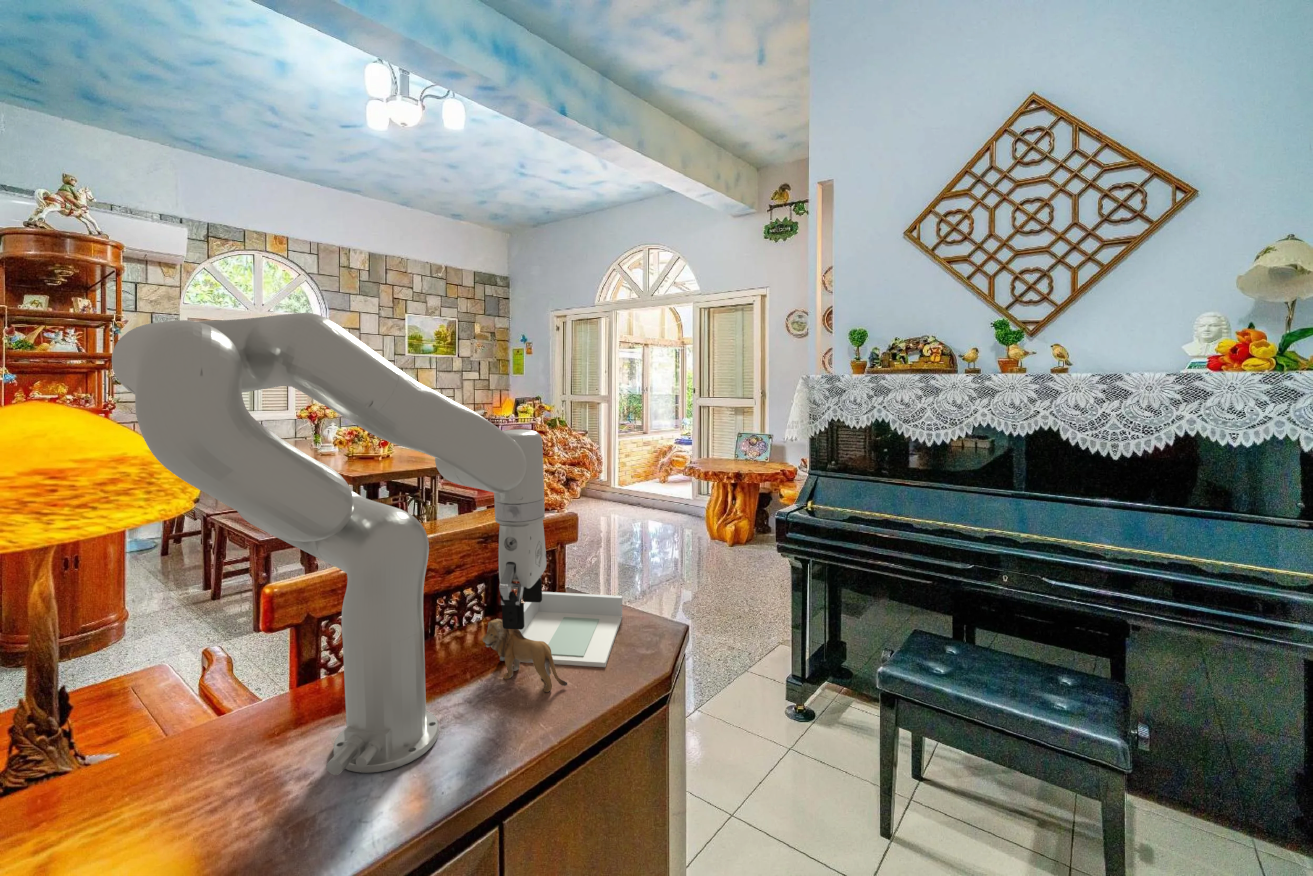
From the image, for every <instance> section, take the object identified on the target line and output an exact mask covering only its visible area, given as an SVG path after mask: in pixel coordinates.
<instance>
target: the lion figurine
mask: <svg viewBox="0 0 1313 876" xmlns="http://www.w3.org/2000/svg"><path fill="white" fill-rule="evenodd" d="M487 623H488V625H487V631H486V634H485V635H484V636H483V637H482V639H481V640H482V641H483V643H485V647H486V648H490V647H491V649H492V650H494V651H496V652H497V655H498V656H499V657H500V656H501V657H505V661H504V663H505V666H506V667H505V668H506V669H507V672H506V673H504V674H503V678H504V680H509V679H511V678H512V677H513V676H514V672H517V671H519V670H520V667H521V665H520V664H521V662H520V661H523V662H522V663H530V662H533V666H534V669H535V671H536V672H537V674H538V675H539V677H540V678H541V679H542V680H543V681H544V683H545V685H544V686H543V692H544V693H549V692H550V691H552V689H553V684H552V683H553V682H552V679H551V674H553V676H554V678H555V681H557V682H558V684H559V685H561V687H563V686H564V687H565V686H568V682H567V681H565V680H563V679H561V678H560V677H559V676H558V674H557V671H556V666H555V664H554V662H553V658H552V655H551V649H550V647H549V645H548V644H546V643H545V642H543V641H533V640H530V639H527V638H525V637H524V636H523V635H522V634H521V632H520V631H519V630H518V629H504V628H503V621H502V618H496V619H495V618H494V619H492V620H490V621H488V622H487Z"/></svg>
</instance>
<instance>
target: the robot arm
mask: <svg viewBox="0 0 1313 876" xmlns="http://www.w3.org/2000/svg"><path fill="white" fill-rule="evenodd" d="M111 364H112V370H113V372H114V374H115V375H114V376H115V377H116V379H117V381H118V382H119V383H120V384H121V385H122V386H123V387H124V388H125V389H126V390H127V391H128V392H129V393H132V394H133V395H134V396H135V399H134V401H135V404H134V405H135V407H134V408H135V414H136V420H137V424H138V427H139V430H140V432H141V435H142V437H143V440H144V443H146V445H147V448H148V449H149V451H150V452H151V453H152V455H153V456H154V457H155V459H156V460H157V461H158V462H159V463H160V464H161V465H162V466H163V467H164V468H166V469H167V470H168V471H169V472H171V473H172V474H174V475H175V476H176V477H178V478H179V479H181V480H182V481H184V482H186V483H187V484H188V485H190V486H192V487H194V488H196V489H197V490H199V491H200V492H201V491H202V492H203V493H205V494H206V495H208V496H210V497H212V498H214V499H215V500H217V501H219V502H221V503H222V504H224V505H225V506H227V507H229V508H231V509H233V510H234V511H236V512H237V513H238V515H239V516H240V517H241V518H242V519H243V520H245V521H246V522H247V523H249V524H250V525H252V526H254V527H256V528H257V529H260V530H262V531H264V532H265V533H267V534H269V535H271V536H273V537H275V538H277V539H279V540H282V541H283V542H286V543H287V544H289V545H291V546H293V547H294V548H297V549H299V550H302V551H303V552H305V553H308V554H309V555H311V556H313V557H315V558H317V559H318V560H321V561H323V562H324V563H326V564H328V565H331V566H333V567H335V568H338V569H339V570H341V571H342V572H343V573H346V576H347V581H346V582H347V584H346V590H345V594H344V597H343V602H342V607H341V638H342V652H343V653H342V654H343V656H342V657H343V671H344V672H343V678H344V701H345V702H344V703H345V722H346V727H345V728H344V729H343V730H342V731H341V732H340V733H339V735H337V736H336V739H335V740H334V743H333V749H332V750H333V756H332V758H331V759H330V760H329V761H328V762H327V763H326V770H327V771H328V773H329V774H331V775H333V776H338V775H340V774H341V773H342V772H343V771H344V770H348V771H349V772H350V771H351V772H355V773H363V774H365V773H366V774H369V773H379V772H385V771H389V770H390V771H391V770H393V769H397V768H400V767H402V766H406V765H407V764H410V763H412V762H413V761H416V760H417V759H418V758H420V757H422V756H423V755H424V754H426V753H427V752H428V751H429V750H430V749H431V748H432V747H433V746H434V744H435V743H436V741H437V739H438V738H439V734H440V733H439V731H440V729H439V725H440V724H439V721H438V719H437V717H436V716H435V715H434V714H433V713H432V712H430V711H428V710H427V702H426V701H427V700H426V699H427V698H426V697H427V695H426V659H425V657H426V655H425V622H424V590H425V589H424V586H425V577H426V573H427V566H428V560H429V553H430V546H429V545H430V542H429V537H428V534H427V531H426V529H425V527H424V526H423V524H422V523H421V522H420V521H419V520H418V519H417V518H416V517H415V516H414V515H412V514H411V513H409V512H407V511H406V510H403V509H401V508H398V507H395V506H392V505H388V504H385V503H382V502H379V501H375V500H371V499H369V498H367V497H364V496H362V495H360V494H358V493H357V492H355V491H353V490H352V489H351V488H350V485H349V484H348V481H346V479H345V478H344V477H343V476H342V475H341V474H340V473H339V472H337V470H335V469H334V468H332V467H331V466H329V465H327V464H325V463H324V462H321V461H320V460H317V459H315V458H313V457H312V456H310V455H309V454H307V453H305V452H304V451H302V450H300V449H299V448H298V447H296V446H295V445H292V444H291V443H289V442H288V441H286V440H285V439H282V438H281V437H280V436H278V435H277V434H275V432H273V431H272V430H270V429H269V428H267V427H266V426H264V425H263V424H261V423H260V422H259V421H257V420H256V419H255V418H254V417H253V416H252V415H251V413H250V412H249V410H248V409H247V407H246V405H245V403H244V398H243V397H244V396H243V393H248V392H254V391H260V390H266V389H272V388H279V387H280V388H281V387H292V388H294V389H296V390H298V391H299V392H301V393H303V394H304V395H305V396H308V397H309V398H310V399H313V400H314V401H316V402H318V403H319V404H321V405H324V406H326V407H327V408H328V409H330V410H332V411H333V412H336V413H337V414H339V415H340V416H341V417H343V418H345V419H347V420H349V421H350V422H352V423H353V424H354V425H356V426H358V427H360V428H361V429H362V430H364V431H366V432H367V433H369V434H372V435H373V436H375V437H377V438H379V439H381V440H383V441H385V442H386V441H387V442H389V443H391V444H393V445H396V446H400V447H403V448H407V449H410V450H414V451H417V452H420V453H423V454H426V455H428V456H431V457H433V458H434V462H435V467H436V469H437V471H438V472H439V474H440V476H442V477H443V479H445V480H447V481H449V482H450V483H454V484H455V485H460V486H464V487H469V488H474V489H479V490H483V491H487V492H491V493H493V498H494V499H493V500H494V520H495V523H497V524H499V531H498V579H499V586H498V588H499V592H500V595H499V596H500V605H501V615H502V617H501V620H502V621H503V628H504V629H520V630H521V629H523V628H524V603H525V602H541V601H542V592H543V583H542V582H543V581H542V580H543V579H542V575H543V574H544V572H545V570H546V569H547V552H546V551H547V549H546V535H545V529H544V528H545V526H544V521H543V520H544V519H545V518H546V514H545V485H544V483H545V481H544V479H545V478H544V476H545V475H544V453H543V451H544V449H543V448H544V447H543V438H542V435H541V434H540V433H539V432H537V431H535V430H531V429H523V428H522V429H520V428H519V429H508V430H507V429H506V430H502V429H500V428H499V427H498V426H496V425H495V424H494V423H492V422H491V421H489V420H488V419H486V418H485V417H484V416H482V415H480V414H479V413H477V412H475V411H473V410H471V409H469V408H467V407H466V406H464V405H462V404H460V403H458V402H456V401H454V400H452V399H451V398H448V397H447V396H445V395H443V394H441V393H440V392H438V391H437V390H435V389H432V388H431V387H428V386H426V385H425V384H423V383H421V382H418V380H416V379H414V378H413V377H411V376H409V375H408V374H406V373H405V371H403V370H401V369H400V368H398V367H397V366H396V365H394V364H393V363H392V362H391V361H389V360H388V359H386V358H385V357H383V356H382V355H380V354H379V353H378V352H376V351H375V350H373V348H371V347H369V346H368V345H367V344H365V343H364V342H362V341H361V340H360V339H359V338H357V337H356V336H355V335H353V334H351V333H350V332H349V331H347V330H346V329H344V328H343V327H342V326H340V325H339V324H337V323H336V322H334V321H332V320H331V319H329V318H326V317H325V316H322V315H319V314H316V313H310V312H296V313H286V314H277V315H269V316H260V317H249V318H238V319H223V320H222V319H221V320H219V319H218V320H199V321H195V320H185V319H181V320H167V321H166V320H165V321H161V322H150V323H145V324H143V325H140V326H136V327H135V328H132V329H131V330H129V331H128V332H126V333H125V334H123V336H121V337H120V338H119V340H118V341H117V342H116V343H115V345H114V348H113V351H112V355H111ZM514 582H515V583H514ZM516 582H517V583H516ZM512 590H517V591H516V593H515V591H512Z"/></svg>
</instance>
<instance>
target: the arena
mask: <svg viewBox="0 0 1313 876" xmlns="http://www.w3.org/2000/svg"><path fill="white" fill-rule="evenodd" d="M523 603H524V628H523V629H521V630H520V629H518V630H519V631H520V632H521V634H522V635H523V636H524V637H525V638H527V639H530V640H533V641H543V642H545V643H546V644H548V645H549V647H550V649H551V655H552V658H553V662H554V665H561V666H564V665H566V666H576V667H577V666H579V667H596V668H606V666H607V663H608V660H609V657H610V654H611V651H612V649H613V647H614V643H615V640H616V637H617V634H618V631H619V627H620V625H621V623H622V620H623V595H613V594H612V595H611V594H610V595H609V594H595V593H594V594H593V593H592V594H591V593H575V592H574V593H573V592H559V591H558V592H557V591H555V592H553V591H542V601H541V602H523ZM620 605H622V606H620ZM499 661H501V662H505V657H501V656H499ZM520 663H524V662H523V661H520ZM530 663H533V662H530Z"/></svg>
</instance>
